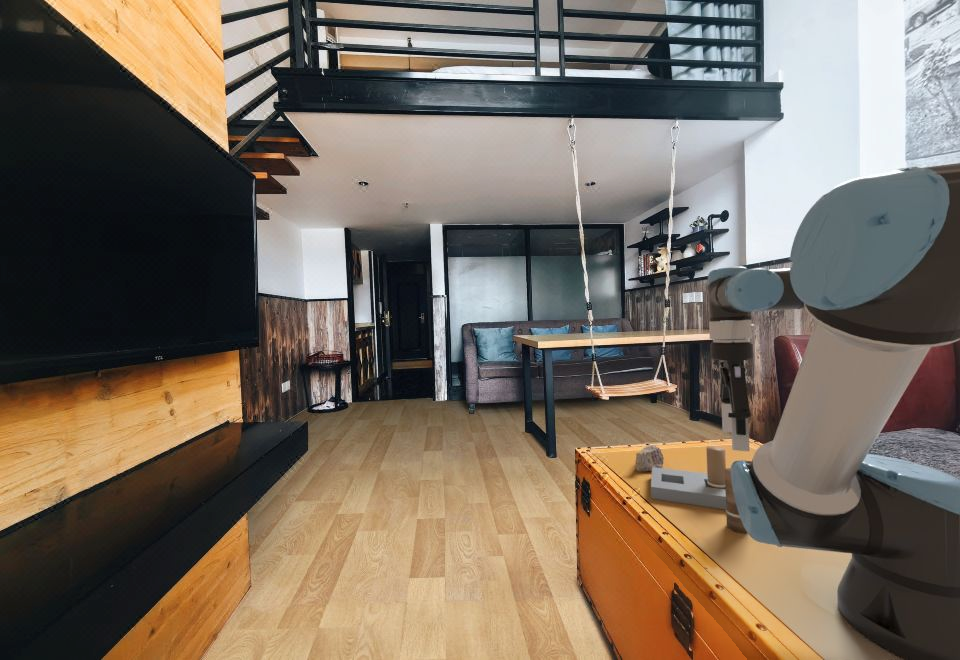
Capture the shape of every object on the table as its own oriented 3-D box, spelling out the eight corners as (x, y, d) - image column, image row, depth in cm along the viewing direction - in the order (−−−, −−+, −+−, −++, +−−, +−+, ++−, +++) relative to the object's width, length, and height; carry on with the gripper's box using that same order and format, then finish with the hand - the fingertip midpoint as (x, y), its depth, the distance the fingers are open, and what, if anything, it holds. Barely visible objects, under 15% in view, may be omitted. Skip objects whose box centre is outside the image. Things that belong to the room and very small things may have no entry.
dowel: (752, 534, 77) (749, 476, 77) (727, 530, 79) (725, 473, 78) (747, 524, 80) (745, 469, 80) (724, 521, 82) (722, 466, 82)
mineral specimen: (658, 477, 107) (658, 456, 107) (632, 472, 111) (632, 451, 111) (667, 463, 117) (666, 444, 117) (643, 459, 121) (642, 440, 121)
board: (747, 512, 85) (745, 460, 85) (651, 498, 94) (649, 451, 94) (736, 487, 98) (734, 442, 98) (652, 477, 107) (650, 435, 107)
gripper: (767, 343, 67) (772, 462, 67) (741, 338, 89) (744, 427, 89) (717, 344, 70) (722, 457, 70) (704, 339, 92) (708, 424, 92)
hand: (734, 440), depth 80 cm, fingers open, 13 cm apart
